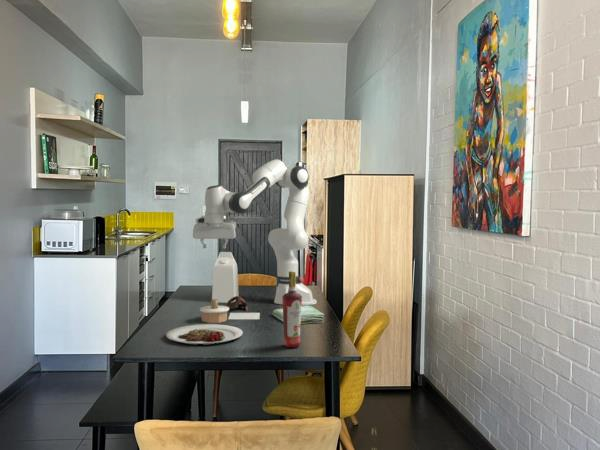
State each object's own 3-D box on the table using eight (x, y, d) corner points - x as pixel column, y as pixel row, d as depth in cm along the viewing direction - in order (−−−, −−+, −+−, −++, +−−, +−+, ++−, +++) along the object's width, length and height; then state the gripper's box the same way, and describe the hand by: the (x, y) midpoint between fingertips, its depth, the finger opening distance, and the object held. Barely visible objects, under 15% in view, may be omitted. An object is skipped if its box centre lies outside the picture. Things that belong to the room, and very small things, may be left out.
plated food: (192, 326, 243) (192, 318, 243) (255, 332, 232) (255, 324, 232) (150, 342, 216) (150, 333, 215) (219, 351, 205) (219, 341, 204)
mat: (259, 314, 268) (259, 312, 268) (259, 320, 254) (259, 319, 254) (230, 314, 267) (230, 312, 267) (228, 320, 253) (228, 319, 253)
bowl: (227, 318, 258) (227, 307, 257) (225, 323, 247) (225, 312, 247) (203, 318, 257) (203, 307, 257) (200, 323, 246) (200, 312, 246)
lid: (230, 307, 259) (230, 296, 258) (228, 313, 246) (228, 302, 245) (201, 307, 258) (201, 296, 258) (198, 313, 245) (198, 302, 245)
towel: (287, 327, 244) (287, 315, 243) (272, 317, 263) (272, 306, 263) (326, 323, 250) (326, 312, 250) (308, 314, 270) (308, 303, 270)
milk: (238, 298, 307) (239, 251, 306) (234, 302, 296) (234, 253, 294) (217, 298, 308) (217, 250, 307) (211, 302, 297) (211, 253, 295)
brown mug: (248, 314, 270) (240, 300, 268) (231, 321, 272) (222, 307, 270) (251, 303, 282) (243, 289, 280) (234, 310, 283) (226, 297, 281)
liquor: (295, 342, 216) (296, 270, 214) (305, 347, 209) (305, 272, 208) (278, 345, 212) (279, 271, 211) (287, 349, 206) (288, 273, 204)
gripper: (236, 219, 273) (236, 247, 274) (194, 218, 272) (194, 247, 273) (235, 219, 267) (235, 248, 267) (192, 219, 266) (192, 248, 266)
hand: (214, 248), depth 270 cm, fingers open, 8 cm apart
